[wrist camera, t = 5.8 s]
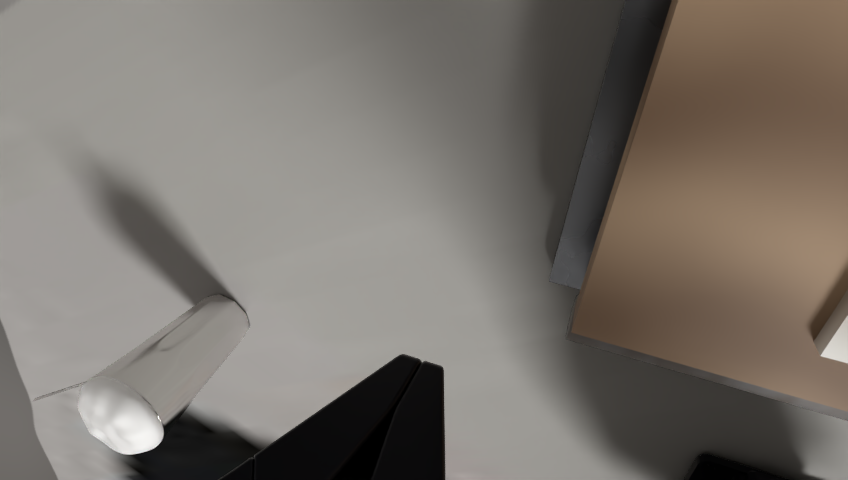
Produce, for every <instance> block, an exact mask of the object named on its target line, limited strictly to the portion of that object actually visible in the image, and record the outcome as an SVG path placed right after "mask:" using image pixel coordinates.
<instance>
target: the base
mask: <svg viewBox="0 0 848 480" xmlns="http://www.w3.org/2000/svg"><path fill="white" fill-rule="evenodd" d="M671 2H672V0H625V3H624V7H623V10H622V14H621V17H620V21H619V25H618V28H617V32H616V36H615V39H614V43H613V47H612V50H611V54H610V58H609V61H608V65H607V69H606V72H605V76H604V80H603V83H602V87H601V91H600V94H599V98H598V102H597V105H596V109H595V113H594V116H593V120H592V124H591V127H590V131H589V135H588V138H587V142H586V146H585V149H584V153H583V157H582V160H581V164H580V168H579V171H578V175H577V179H576V182H575V186H574V189H573V193H572V197H571V200H570V204H569V208H568V211H567V215H566V219H565V222H564V226H563V230H562V233H561V237H560V241H559V244H558V248H557V252H556V255H555V259H554V263H553V266H552V271H551V275H550V279H549V281H550V282H553V283H557V284H561V285H565V286H568V287H572V288H576V289H581V286H582V283H583V280H584V277H585V273H586V270H587V267H588V264H589V261H590V258H591V254H592V251H593V248H594V245H595V242H596V239H597V235H598V232H599V229H600V226H601V223H602V220H603V216H604V213H605V210H606V207H607V204H608V201H609V198H610V194H611V191H612V188H613V185H614V182H615V179H616V175H617V172H618V169H619V166H620V163H621V160H622V156H623V153H624V150H625V147H626V144H627V141H628V137H629V134H630V131H631V128H632V125H633V122H634V119H635V115H636V112H637V109H638V106H639V103H640V100H641V96H642V93H643V90H644V87H645V84H646V81H647V77H648V74H649V71H650V68H651V65H652V62H653V58H654V55H655V52H656V49H657V46H658V43H659V39H660V36H661V33H662V30H663V27H664V24H665V21H666V17H667V14H668V11H669V8H670V5H671Z"/></svg>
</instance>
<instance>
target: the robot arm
mask: <svg viewBox="0 0 848 480" xmlns="http://www.w3.org/2000/svg"><path fill="white" fill-rule="evenodd" d="M218 480H445V425H444V370H443V367H442V366H440V365H436V364H433V363H430V362H427V361H424V362H421V360H420V359H418V358H414V357H411V356H408V355H405V354H401V355H399V356H397V357H396V358H394V359H393V360H392V361H390V362H389V363H387V364H386V365H384V366H383V367H381V368H380V369H379V370H377V371H376V372H374V373H373V374H371V375H370V376H368V377H367V378H366V379H364V380H363V381H361V382H360V383H358V384H357V385H355V386H354V387H353V388H351V389H350V390H348V391H347V392H345V393H344V394H342V395H341V396H340V397H338V398H337V399H335V400H334V401H332V402H331V403H329V404H328V405H326V406H325V407H324V408H322V409H321V410H319V411H318V412H316V413H315V414H313V415H312V416H311V417H309V418H308V419H306V420H305V421H303V422H302V423H300V424H299V425H298V426H296V427H295V428H293V429H292V430H290V431H289V432H287V433H286V434H285V435H283V436H282V437H280V438H279V439H277V440H276V441H274V442H273V443H272V444H270V445H269V446H267V447H266V448H264V449H263V450H261V451H260V452H259V453H257V454H256V455H255V456H254V459H253V458H249V459H248V460H247V461H245V462H244V463H242V464H241V465H239V466H238V467H237V468H235V469H234V470H232V471H231V472H229V473H228V474H226V475H225V476H223V477H222V478H220V479H218ZM684 480H789V479H785V478H782V477H779V476H776V475H773V474H770V473H767V472H764V471H760V470H757V469H754V468H751V467H748V466H745V465H742V464H739V463H735V462H732V461H729V460H726V459H723V458H720V457H717V456H714V455H710V454H702V455H699V456H698V457H697V458H696V460H695V461H694V463H693V465H692V467H691V468H690V470H689V472H688V473H687V475H686V477H685V478H684Z"/></svg>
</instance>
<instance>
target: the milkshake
mask: <svg viewBox="0 0 848 480" xmlns="http://www.w3.org/2000/svg"><path fill="white" fill-rule="evenodd" d="M249 328H250V326H249V323H248V319H247V315H246V313H245V312H244V311H243V310H242V309H241V308H240V306H239V305H238V304H237V303H236V302H235V301H233V300H231V299H229V298H227V297H224V296H222V295H214V296H208V297H206V298H205V299H203V300H202V301H200V302H199V303H198V304H196V305H195V306H193V307H192V308H191V309H189V310H188V311H186V312H185V313H184V314H182V315H181V316H179V317H178V318H177V319H175V320H174V321H172V322H171V323H170V324H168V325H167V326H165V327H164V328H163V329H161V330H160V331H158V332H157V333H156V334H154V335H153V336H151V337H150V338H149V339H147V340H146V341H145V342H143V343H142V344H140V345H139V346H138V347H136V348H135V349H133V350H132V351H130V352H129V353H127V354H126V355H124V356H123V357H121V358H120V359H118V360H117V361H115V362H114V363H113V364H111V365H110V366H108V367H107V368H105V369H104V370H102V371H101V372H99V373H98V374H96V375H95V376H93V377H92V378H90V379H89V380H87V381H86V382H83V383H80V384H77V385H74V386H71V387H68V388H65V389H62V390H58V391H55V392H52V393H49V394H46V395H43V396H40V397H37V398H35V399H34V400H33V401H36V400H39V399H42V398H45V397H48V396H51V395H54V394H57V393H60V392H63V391H66V390H69V389H72V388H75V387H78V386H81V385H83V386H82V387H81V389H80V392H79V396H78V410H79V412H80V414H81V417H82V419H83V421H84V423H85V425H86V427H87V429H88V431H89V432H90V433H91V434H92V435H93V436H94V437H96V438H98V439H99V440H101V441H102V442H104V443H105V444H106V445H107V446H109V447H110V448H111V449H113V450H115V451H117V452H119V453H122V454H138V453H142V452H146V451H149V450H151V449H153V448H155V447H156V446H158V445H159V444H160V442H161V441H162V440H163V439H164V437H165V436H166V435H167V433H168V432H169V431H170V430H171V428H172V427H173V426H174V424H175V423H176V422H177V420H178V419H179V418H180V417H181V415H182V414H183V413H184V411H185V410H186V409H187V407H188V406H189V405H190V403H191V402H192V401H193V399H194V398H195V397H196V395H197V394H198V393H199V392H200V390H201V389H202V388H203V387H204V385H205V384H206V383H207V382H208V381H209V379H210V378H211V377H212V376H213V375H214V373H215V372H216V371H217V370H218V368H219V367H220V366H221V365H222V364H223V362H224V361H225V360H226V359H227V358H228V356H229V355H230V354H231V353H232V351H233V350H234V349H235V348H236V347H237V345H238V344H239V343H240V342H241V340H242V339H243V338H244V336H245V335H246V333H247V331H248V330H249Z"/></svg>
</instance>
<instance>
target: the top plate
mask: <svg viewBox="0 0 848 480" xmlns="http://www.w3.org/2000/svg"><path fill="white" fill-rule="evenodd" d="M566 339H567V340H571V341H574V342H578V343H581V344H584V345H588V346H591V347H595V348H598V349H602V350H605V351H609V352H612V353H615V354H619V355H622V356H626V357H629V358H633V359H636V360H640V361H643V362H647V363H650V364H653V365H657V366H660V367H664V368H667V369H671V370H674V371H678V372H681V373H684V374H688V375H691V376H695V377H698V378H702V379H705V380H709V381H712V382H716V383H719V384H722V385H726V386H729V387H733V388H736V389H740V390H743V391H747V392H750V393H754V394H757V395H760V396H764V397H767V398H771V399H774V400H778V401H781V402H785V403H788V404H791V405H795V406H798V407H802V408H805V409H809V410H812V411H816V412H819V413H823V414H826V415H829V416H833V417H836V418H840V419H843V420H847V421H848V0H672V2H671V5H670V8H669V11H668V14H667V17H666V21H665V24H664V27H663V30H662V33H661V36H660V39H659V43H658V46H657V49H656V52H655V55H654V58H653V62H652V65H651V68H650V71H649V74H648V77H647V81H646V84H645V87H644V90H643V93H642V96H641V100H640V103H639V106H638V109H637V112H636V115H635V119H634V122H633V125H632V128H631V131H630V134H629V137H628V141H627V144H626V147H625V150H624V153H623V156H622V160H621V163H620V166H619V169H618V172H617V175H616V179H615V182H614V185H613V188H612V191H611V194H610V198H609V201H608V204H607V207H606V210H605V213H604V216H603V220H602V223H601V226H600V229H599V232H598V235H597V239H596V242H595V245H594V248H593V251H592V254H591V258H590V261H589V264H588V267H587V270H586V273H585V277H584V280H583V283H582V286H581V289H580V292H579V295H577V296H576V299H575V301H574V305H573V308H572V311H571V315H570V319H569V323H568V328H567V333H566Z"/></svg>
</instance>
